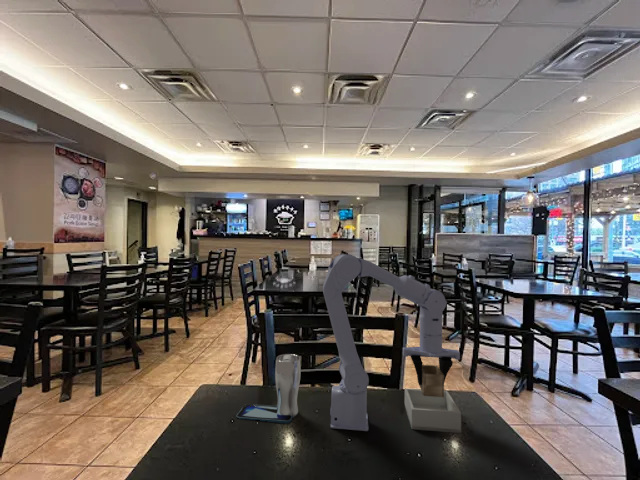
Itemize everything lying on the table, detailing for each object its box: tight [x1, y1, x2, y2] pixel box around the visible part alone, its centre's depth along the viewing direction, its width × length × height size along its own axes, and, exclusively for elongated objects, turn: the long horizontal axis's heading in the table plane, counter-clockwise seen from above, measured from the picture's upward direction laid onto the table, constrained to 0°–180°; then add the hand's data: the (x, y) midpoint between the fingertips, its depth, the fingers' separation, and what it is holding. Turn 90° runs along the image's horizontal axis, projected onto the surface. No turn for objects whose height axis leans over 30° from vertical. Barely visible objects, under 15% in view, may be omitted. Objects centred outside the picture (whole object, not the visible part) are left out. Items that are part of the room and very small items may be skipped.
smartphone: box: [235, 403, 294, 424], centre depth 86 cm, size 7×1×15 cm
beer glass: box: [274, 353, 302, 418], centre depth 87 cm, size 7×7×15 cm
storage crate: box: [404, 388, 462, 434], centre depth 85 cm, size 12×12×5 cm
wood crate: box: [418, 364, 445, 397], centre depth 84 cm, size 5×7×6 cm
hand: (430, 384), depth 84 cm, fingers closed on wood crate, 5 cm apart
